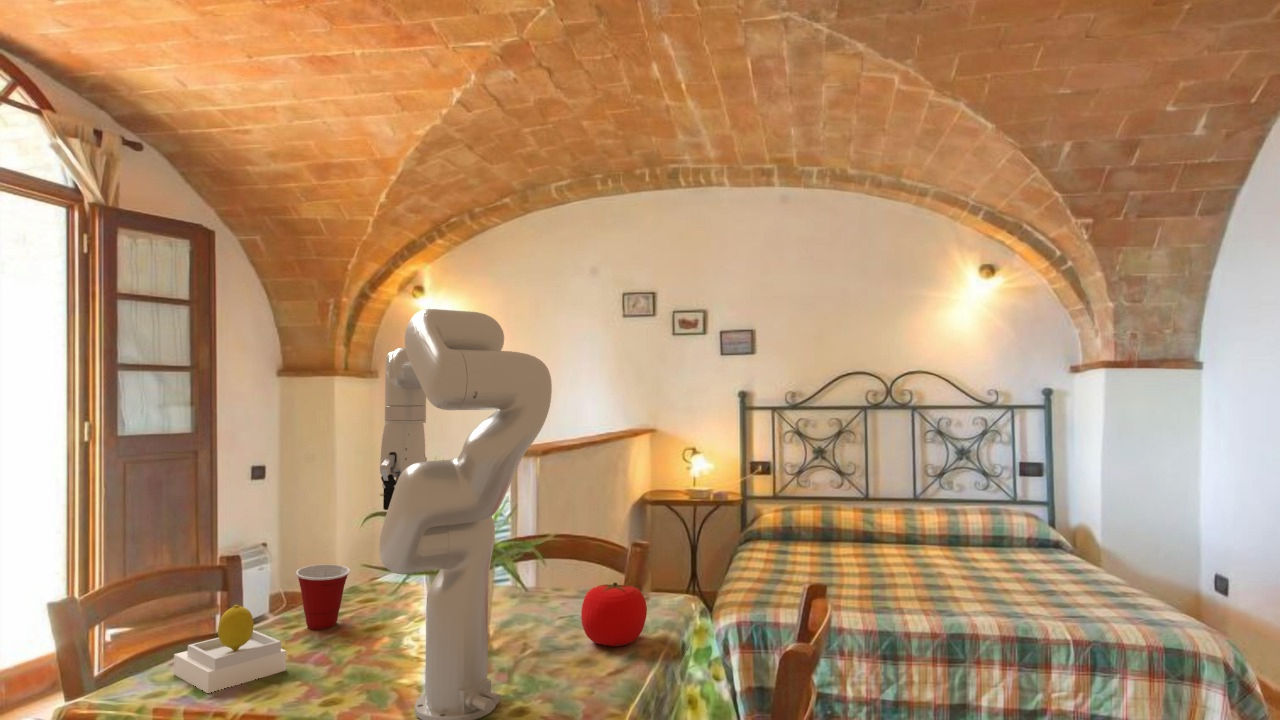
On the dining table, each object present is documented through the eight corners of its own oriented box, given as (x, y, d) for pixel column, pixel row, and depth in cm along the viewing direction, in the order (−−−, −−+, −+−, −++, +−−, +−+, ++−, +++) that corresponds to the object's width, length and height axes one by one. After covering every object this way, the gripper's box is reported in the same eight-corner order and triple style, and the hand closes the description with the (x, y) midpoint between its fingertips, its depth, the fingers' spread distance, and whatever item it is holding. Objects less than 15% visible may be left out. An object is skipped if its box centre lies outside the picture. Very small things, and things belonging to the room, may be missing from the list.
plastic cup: (319, 636, 150) (320, 577, 150) (283, 629, 155) (284, 572, 155) (360, 622, 160) (361, 566, 160) (325, 615, 164) (326, 561, 165)
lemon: (237, 657, 127) (238, 610, 127) (209, 654, 128) (211, 608, 128) (260, 646, 132) (261, 601, 133) (233, 644, 133) (234, 599, 134)
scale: (285, 670, 132) (286, 639, 132) (207, 693, 121) (208, 660, 122) (249, 653, 140) (249, 624, 140) (173, 674, 130) (174, 643, 130)
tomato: (571, 651, 142) (572, 589, 142) (593, 629, 155) (593, 573, 155) (636, 656, 138) (636, 594, 139) (652, 633, 152) (652, 576, 152)
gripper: (407, 414, 149) (405, 499, 148) (364, 416, 132) (362, 512, 131) (442, 414, 148) (441, 499, 147) (403, 416, 131) (402, 513, 130)
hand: (404, 505), depth 139 cm, fingers open, 9 cm apart
